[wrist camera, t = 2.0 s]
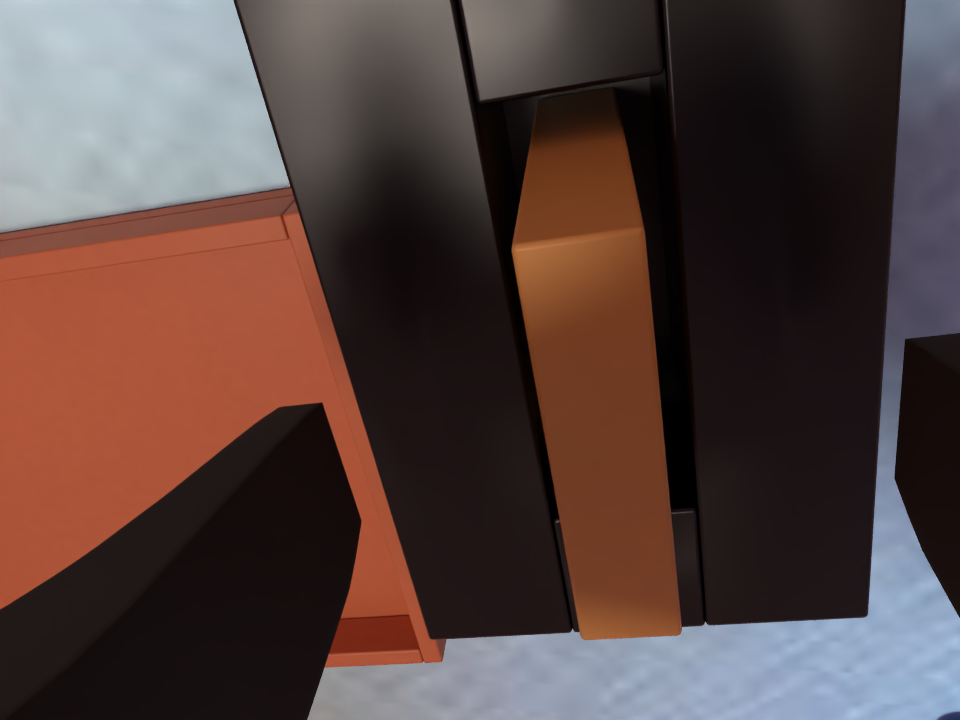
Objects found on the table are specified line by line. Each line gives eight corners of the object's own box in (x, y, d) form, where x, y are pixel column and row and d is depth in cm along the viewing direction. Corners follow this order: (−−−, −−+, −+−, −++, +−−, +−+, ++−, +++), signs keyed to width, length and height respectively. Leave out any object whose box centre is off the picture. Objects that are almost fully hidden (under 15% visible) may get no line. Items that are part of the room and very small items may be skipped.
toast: (614, 85, 14) (645, 227, 8) (644, 375, 17) (683, 637, 11) (536, 99, 15) (510, 246, 9) (578, 382, 17) (581, 642, 11)
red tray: (332, 180, 16) (306, 211, 15) (452, 608, 22) (442, 662, 20) (-277, 277, 19) (-353, 311, 17) (-28, 636, 25) (-69, 686, 23)
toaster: (826, -214, 12) (924, -255, 9) (814, 485, 19) (869, 619, 15) (295, -95, 14) (203, -90, 10) (453, 513, 20) (428, 641, 17)
